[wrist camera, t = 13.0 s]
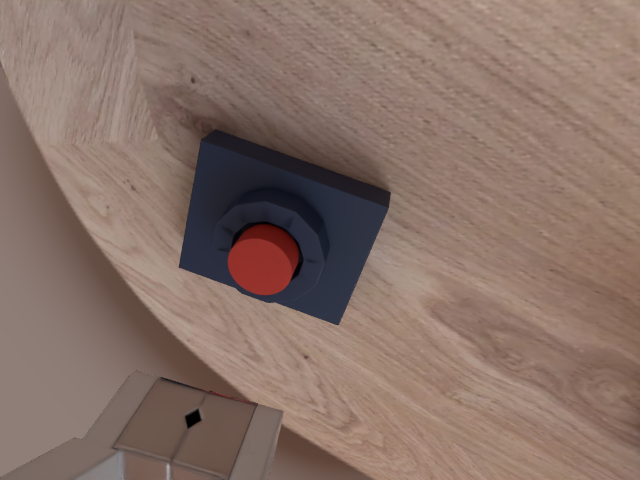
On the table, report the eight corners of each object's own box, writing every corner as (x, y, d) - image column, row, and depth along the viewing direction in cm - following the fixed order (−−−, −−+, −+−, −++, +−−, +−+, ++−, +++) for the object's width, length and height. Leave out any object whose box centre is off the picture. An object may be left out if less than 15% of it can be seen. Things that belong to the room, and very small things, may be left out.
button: (232, 265, 28) (221, 282, 26) (245, 214, 26) (234, 229, 25) (290, 286, 28) (282, 303, 26) (306, 236, 26) (299, 252, 25)
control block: (192, 250, 32) (165, 283, 29) (215, 128, 28) (186, 149, 24) (343, 305, 32) (334, 344, 29) (391, 192, 28) (387, 222, 24)
